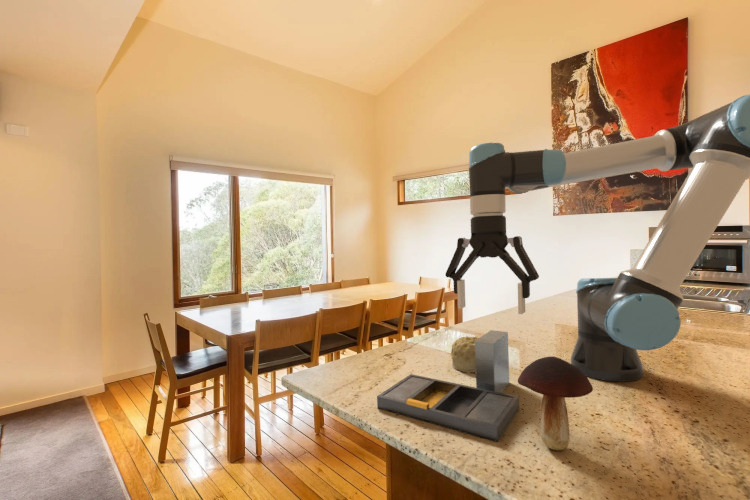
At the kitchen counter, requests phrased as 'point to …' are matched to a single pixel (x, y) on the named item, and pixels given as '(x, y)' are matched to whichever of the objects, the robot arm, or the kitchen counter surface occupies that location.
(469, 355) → the decorative item
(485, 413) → the rack
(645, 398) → the kitchen counter surface
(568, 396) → the decorative mushroom
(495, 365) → the panel
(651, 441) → the kitchen counter surface
